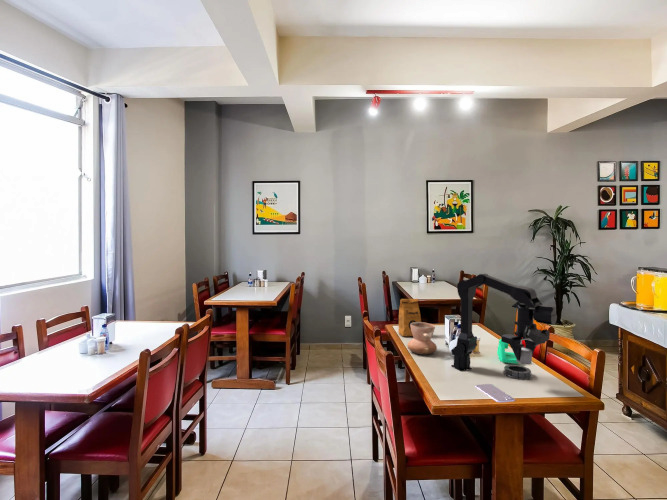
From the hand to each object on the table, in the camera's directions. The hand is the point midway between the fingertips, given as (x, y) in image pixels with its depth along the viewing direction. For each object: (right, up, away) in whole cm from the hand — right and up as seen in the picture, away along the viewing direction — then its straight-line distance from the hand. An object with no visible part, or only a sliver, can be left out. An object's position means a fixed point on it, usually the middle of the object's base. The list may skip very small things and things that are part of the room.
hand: (523, 359), depth 147 cm
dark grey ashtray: (+4, -10, +13) cm, 17 cm away
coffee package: (-30, -8, +75) cm, 81 cm away
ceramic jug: (-30, -9, +44) cm, 54 cm away
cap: (0, -1, 0) cm, 1 cm away
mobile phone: (-14, -12, -6) cm, 19 cm away
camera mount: (+9, -10, +32) cm, 34 cm away
